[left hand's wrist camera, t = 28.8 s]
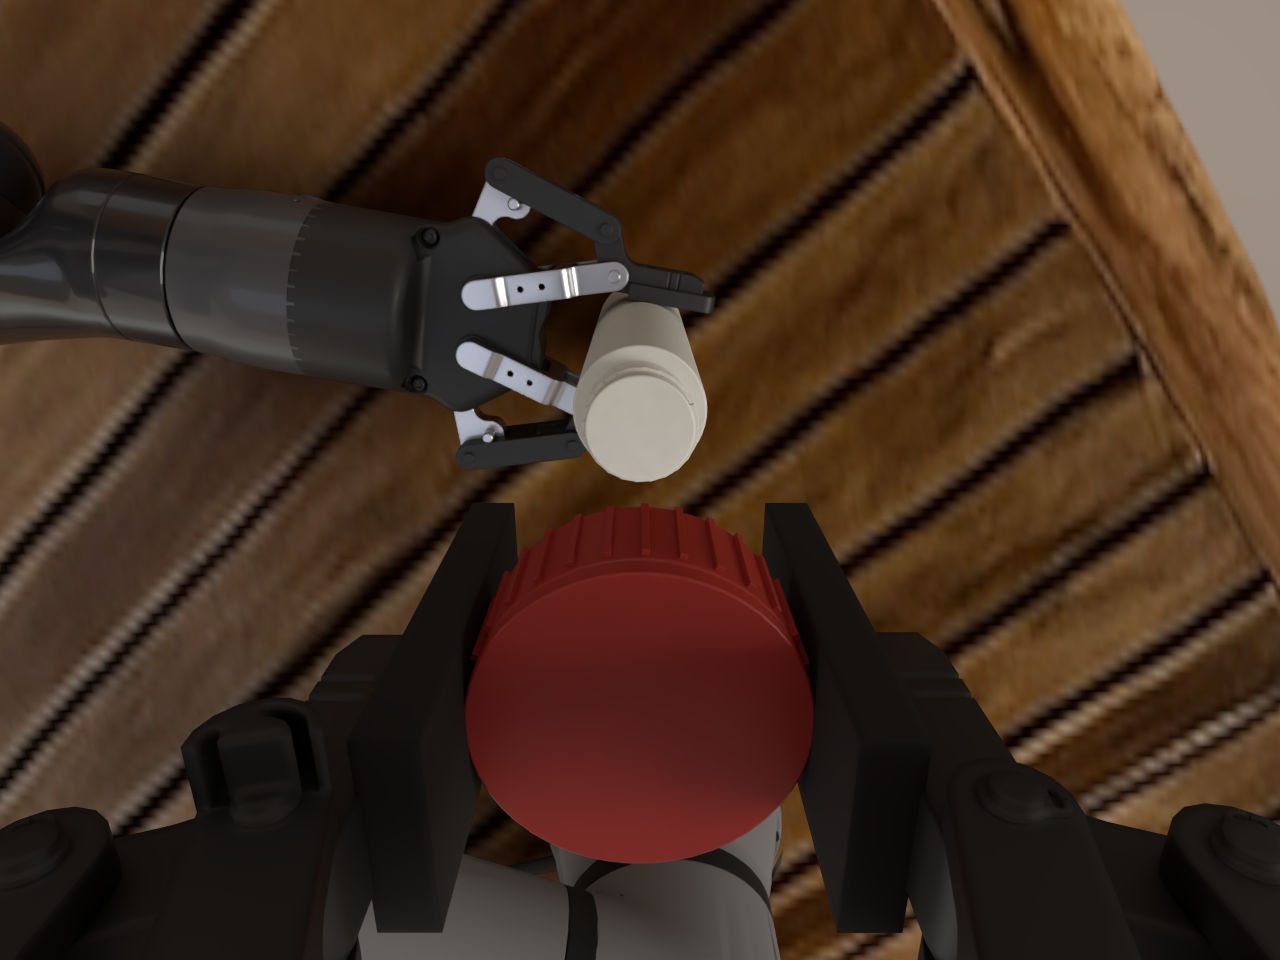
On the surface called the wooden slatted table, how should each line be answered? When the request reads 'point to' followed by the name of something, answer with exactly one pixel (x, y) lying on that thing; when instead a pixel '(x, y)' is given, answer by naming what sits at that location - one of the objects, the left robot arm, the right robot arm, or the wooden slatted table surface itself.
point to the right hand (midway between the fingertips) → (699, 356)
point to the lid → (639, 688)
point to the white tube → (639, 391)
